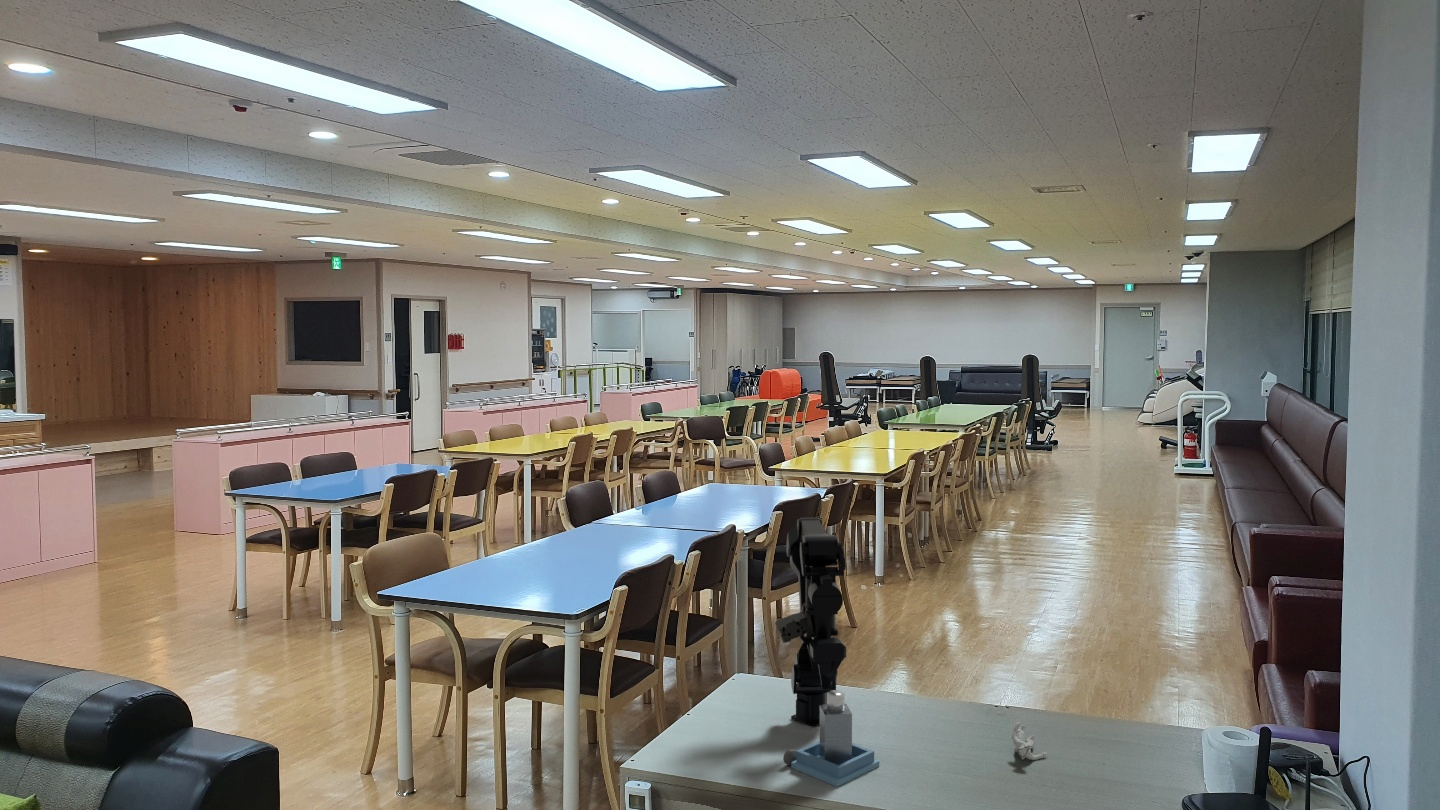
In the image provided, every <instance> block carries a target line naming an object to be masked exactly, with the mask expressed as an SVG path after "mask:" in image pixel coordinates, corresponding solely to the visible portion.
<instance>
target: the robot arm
mask: <svg viewBox="0 0 1440 810" xmlns="http://www.w3.org/2000/svg"><path fill="white" fill-rule="evenodd" d="M796 523H797V524H796V525H794V526H793V527H792V528H791V529H789V531H787V536H786V556H787V557H789V565H790V567H791V569H792V570H793V572H794V574H795V575H796V576H797V577H798V581H797V582H798V595H799V596H798V597H799V598H798V599H799V612H796V613H792V614H791V615H788V616H786V617H783V618H779V619H778V620H776V621H775V626H776V629H777V632H778V634H779V637H780V639H781V642H783V643H784V644H785V643H790V642H791V641H792V640H793V639H794V640H795V639H797V638H800V640H801V645H800V647H799V650H798V652H797V653H796V656H795V659H794V663H793V664H792V668H791V675H790V685H791V686H790V687H791V690H792V694H793V695H796V699H795V714H792V715H791V716H790V718H791V720H794V721H796V722H799V723H802V724H804V725H807V726H810V727H813V728H815V727H817V726H820V705H824V704H827V692H828V691H831V690H837V678H838V670H839V667H840V666H841V663H842V662H843V661H844V660H845V659H846V658H847V647H846V644H845V643H844V642H843V641H842V640H841V639H840V638H839V637H837V636H838V634H839V633H838V632H839V631H838V628H837V627H836V615H838V613H839V611H840V610H841V608H842V606H843V603H844V597H843V593H842V591H841V590H840V587H839V586H838V584H837V581H836V580H837V579H836V577H844V575H845V572H844V571H846V569H847V565H846V556H845V549H844V546H842V542H841V541H839V540H838V538H837V536H836V535H835V534H830V533H827V530H826V529H825V528H824V527H823V520H822V518H819V517H800V518H798V519H797V521H796ZM833 636H835V637H833Z"/></svg>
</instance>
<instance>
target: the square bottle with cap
mask: <svg viewBox="0 0 1440 810" xmlns="http://www.w3.org/2000/svg"><path fill="white" fill-rule="evenodd" d="M819 741H820V758H821V759H824V760H826V761H829V762H831V763H834V764H836V765H840V764H842V763H844V762H846V761H848V760H851V759H852V743H853V713H852V711H851V710H850V707H849V706H848V704H847V703H845V692H844V691H842V690H838V689H836V690H831V691H828V692H827V704H824V705H820V725H819Z"/></svg>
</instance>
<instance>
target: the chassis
mask: <svg viewBox="0 0 1440 810" xmlns="http://www.w3.org/2000/svg"><path fill="white" fill-rule="evenodd" d="M782 761H783V763H784V764H785V765H788V766H790V768H791V769H794V770H796V771H799V772H801V773H803V774H805V775H808V776H811V777H813V778H816V779H817V780H819V781H823V782H825V783H827V784H829V785H832V786H834V787H840V786H841V785H844V784H845V783H848V782H850V781H853V780H854V779H856V778H858V777H860V776H863V775H865V774H866V773H868V772H870V771H872V770H875V769H876V768H878V767H880V760H878V759H875V750H873V749H869V748H867V747H864V746H861V745H859V744H856V743H853V742H852V759H851V760H848V761H846V762H844V763H842V764H840V765H836V764H834V763H831V762H829V761H826V760H824V759H821V758H820V740H819V741H818V740H817V742H815V743H812V744H809V745H807V746H805V747H802V748H801V749H798V750H794V749H792V748H788V749H787V750H785V752H784V754H783V760H782Z"/></svg>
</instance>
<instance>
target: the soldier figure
mask: <svg viewBox="0 0 1440 810" xmlns="http://www.w3.org/2000/svg"><path fill="white" fill-rule="evenodd" d="M1020 724H1021V722H1020V721H1017V722H1015V724H1014V727H1013V729H1012V733H1011V739H1012V742H1013V744H1014V746H1015V748H1014V749H1013V750H1014V752H1016V753H1018V755H1019V757H1020V758H1021V760H1022V761H1023V760H1024V759H1028V760H1031V761H1037V760H1040V759H1042V758H1045V757H1047V755H1048V753H1047V752H1046V751H1044V752H1042V753H1041V754H1033V753H1032V752H1031V749H1032V748H1034V746H1035V744H1034V743H1035V742H1034V741H1033V740H1035V738H1036V736H1035V735H1034V734H1033V735H1030V736H1029V737H1028V738H1026V739H1025V732H1024V731H1025V729H1026V725H1024V724H1022V725H1020Z"/></svg>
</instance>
